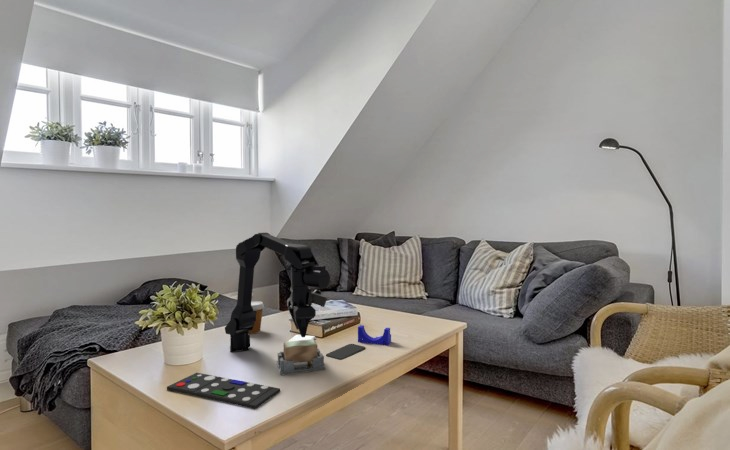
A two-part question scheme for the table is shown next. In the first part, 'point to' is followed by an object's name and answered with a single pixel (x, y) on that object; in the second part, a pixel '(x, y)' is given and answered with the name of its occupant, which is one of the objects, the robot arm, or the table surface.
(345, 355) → the phone
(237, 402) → the remote control
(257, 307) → the disposable coffee cup
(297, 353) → the brown and green block
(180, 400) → the table surface
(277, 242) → the robot arm
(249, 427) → the table surface
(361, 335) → the blue u-shaped cradle
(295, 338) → the external hard drive
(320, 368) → the chassis
